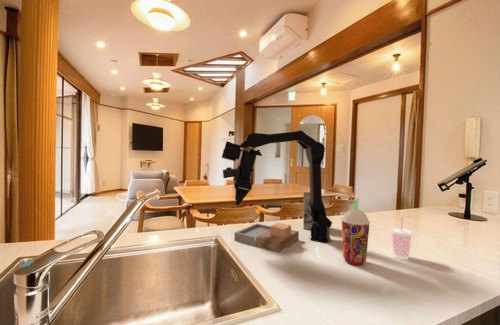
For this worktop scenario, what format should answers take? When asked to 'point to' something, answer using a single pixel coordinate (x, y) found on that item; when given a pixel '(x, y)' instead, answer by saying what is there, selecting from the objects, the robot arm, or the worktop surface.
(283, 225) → the salmon pink block
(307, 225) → the coffee box
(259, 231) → the box
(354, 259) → the smoothie
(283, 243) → the board
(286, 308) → the worktop surface
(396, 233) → the beverage cup
